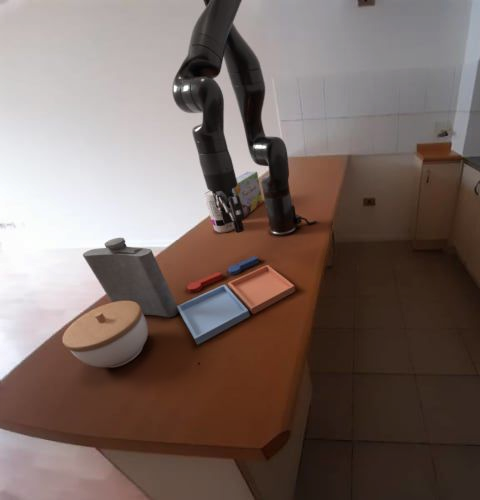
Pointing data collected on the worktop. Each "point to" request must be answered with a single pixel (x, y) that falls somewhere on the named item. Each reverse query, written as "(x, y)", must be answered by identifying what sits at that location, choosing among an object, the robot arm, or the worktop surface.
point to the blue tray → (212, 313)
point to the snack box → (248, 191)
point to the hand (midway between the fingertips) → (233, 227)
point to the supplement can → (216, 215)
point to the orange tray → (261, 288)
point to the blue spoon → (242, 265)
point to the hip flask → (132, 277)
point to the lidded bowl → (108, 334)
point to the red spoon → (204, 282)
